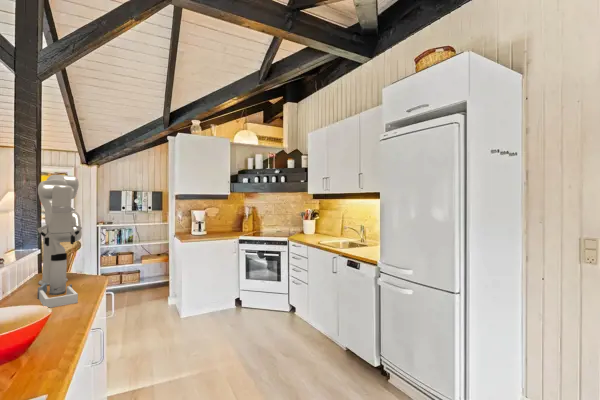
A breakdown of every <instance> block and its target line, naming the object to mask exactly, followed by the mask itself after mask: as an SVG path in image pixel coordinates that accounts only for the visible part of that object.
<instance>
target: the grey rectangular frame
mask: <svg viewBox="0 0 600 400" xmlns="http://www.w3.org/2000/svg"><path fill="white" fill-rule="evenodd" d="M65 293H66V294H65V295H57V296H53V297H49V296H48V295H47V294H46V293H44V291H43V290H40V291H39V299H38V300H39V302H40V304H41V305H42V306H43V307H44V306H47V307H50V308H49V309H51V308H57V307H61V306H68V305H73V304H78V302H79V293H78V292H76V291H75V290H74V289H73V283H70V284H69V285H68V286H67V285H66V292H65Z"/></svg>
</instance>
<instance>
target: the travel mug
mask: <svg viewBox="0 0 600 400" xmlns="http://www.w3.org/2000/svg"><path fill="white" fill-rule="evenodd" d="M67 261H68V253H66V252H65V253H62V254H56V255H51V266H50V285H49V293H48V294H49V295H50V296H61V295H63V294H65V293H66V291H67V282H66V278H67V265H68V264H67V263H68V262H67Z"/></svg>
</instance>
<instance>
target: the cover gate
mask: <svg viewBox="0 0 600 400" xmlns="http://www.w3.org/2000/svg"><path fill="white" fill-rule="evenodd" d="M40 290H43V291H44V293H45V294H46V293H47V292H48V285H47V283H44V284H43V285H41V286H39V287H38V286H37V293H36V294H37V295H36V298H37V300H39V291H40Z"/></svg>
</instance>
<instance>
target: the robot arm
mask: <svg viewBox="0 0 600 400" xmlns="http://www.w3.org/2000/svg"><path fill="white" fill-rule="evenodd" d="M79 186H80V184H79V179H78V178H77V177H76V176H75V175H66V174H65V175H64V174H52V175H49V177H47V179H46V180H42V181H40V182H39V184H38V185H37V194H38V198H39V201H40V203H41V205H42V207H43V209H44V221H45V225H43V226H41V227H38V228H37V231H38V233H39V235H41V236H42V244H43V246H42V247H43V257H42V259H43V261H42V278H41V279H40V280H39V281H38V285H41V286H42V285H43V284H44V283H47V286H50V266H51V255H56V254H62V253H66V248H65V247H64V246H63V245H62V244H61V243H70V244H71V245H74V243H75V242H78V241H79V240H81V239H82V236H83V233H82V230H83V227H82V223H81V217H80V214H79V213H78V211H75V207H72V200H73V199H76V197H77V194H78V193H77V192H78V189H79ZM68 281H69V279H68V277H66V283H67V282H68Z"/></svg>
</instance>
